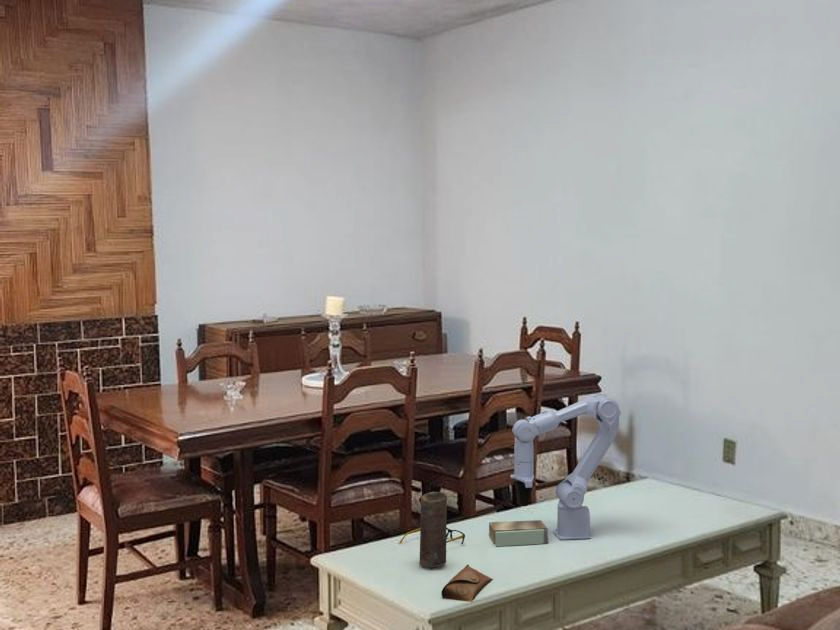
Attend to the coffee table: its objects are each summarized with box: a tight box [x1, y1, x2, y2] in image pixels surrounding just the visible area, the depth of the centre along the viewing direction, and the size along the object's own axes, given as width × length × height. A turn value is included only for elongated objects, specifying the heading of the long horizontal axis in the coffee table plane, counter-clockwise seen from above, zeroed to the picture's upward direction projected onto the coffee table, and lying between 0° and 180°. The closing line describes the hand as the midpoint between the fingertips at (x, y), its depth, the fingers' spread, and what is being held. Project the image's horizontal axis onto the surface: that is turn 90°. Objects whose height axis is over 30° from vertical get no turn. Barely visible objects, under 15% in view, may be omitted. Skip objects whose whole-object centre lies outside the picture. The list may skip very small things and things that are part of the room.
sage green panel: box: [494, 528, 549, 547], centre depth 287 cm, size 16×1×4 cm, turn 100°
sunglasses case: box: [441, 564, 494, 603], centre depth 254 cm, size 18×7×7 cm, turn 159°
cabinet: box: [488, 519, 548, 545], centre depth 293 cm, size 16×8×4 cm, turn 96°
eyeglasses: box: [398, 526, 466, 545], centre depth 289 cm, size 14×14×4 cm
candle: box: [419, 491, 448, 569], centre depth 269 cm, size 8×7×20 cm
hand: (523, 505), depth 294 cm, fingers closed
